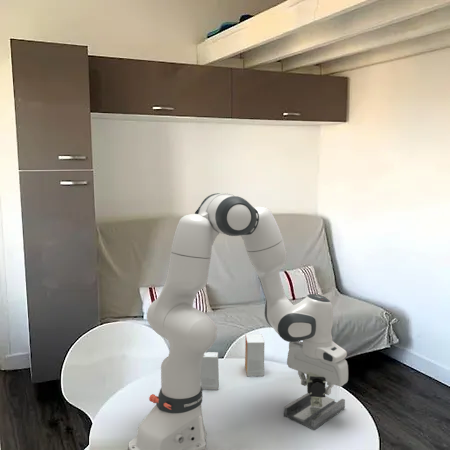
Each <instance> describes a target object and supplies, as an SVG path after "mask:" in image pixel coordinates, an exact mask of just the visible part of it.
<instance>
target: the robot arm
mask: <svg viewBox="0 0 450 450" xmlns="http://www.w3.org/2000/svg"><path fill="white" fill-rule="evenodd" d="M280 229H281V228H280V227H279V225H278V223H277V220H276V219H275V216H274V214H273V213H272V211H271V209H269V208H268V207H266V206H259V205H257V206H254V205H252V204H251V203H250V202H249V201H247V199H245V198H243V197H241V196H239V195H238V196H235V195H233V194H230V193H213V194H210V195H208V196H206V198H204V199H203V201H202V202H201V204H200V205H199V206H198V208H197V209H196V210H195V212H194V213H189V214H185V215H184V216H182V217H181V218H180V219H179V221H178V224H177V225H176V229H175V232H174V235H173V239H172V243H171V249H170V255H169V263H168V267H167V274H166V278H165V282H164V285H163V287H162V289H161V291H160V293H159V295H158V297H157V298H156V299H155V300H153V301H152V302H151V304H150V305H149V306H148V308H147V313H146V319H147V322H148V324H149V326H150V327H151V328H152V329H153V330H154V331H155V333H156V334H157V335H159V336H161V337H162V338H164V339H166V340H167V341H168V343H169V352H168V356H166V358H164V359H163V360H162V362H161V365H160V366H161V367H160V380H161V381H160V383H161V384H160V385H161V388H160V389H159V391H158V392H159V393H158V396H157V395H156V394H153V393H152V394H150V395H149V397H148V399H149V402H151V403H153V404H155V405H154V407H153V408H152V409H151V410H150V411H149V413H148V414H147V415H146V416H145V418H143V419H142V421H141V422H140V423H139V424H138V427H137V428H138V429H137V432H136V437H134V438H133V439H132V440H130V441H129V442H128V446H127V447H128V450H205V449H207V444H206V443H207V442H206V439H207V435H208V434H207V430H206V427H205V424H204V418H203V417H204V416H203V409H202V403H203V389H202V387H201V363H202V359H203V356H204V353H205V352H207V351H209V350H210V349H211V348H212V347H213V345H214V344H215V342H216V339H217V336H218V328H217V325H216V323H215V321H214V320H213V319H211V317H209V315H208V314H206V312H204V311H202V310H200V309H197V308H196V307H194V301H195V299H196V296H197V294H198V293H199V292H200V291H201V290H203V289H204V288H205V287H206V286H207V284H208V277H209V271H210V264H211V257H212V252H213V251H212V250H213V245H214V242H215V240H216V239H217V237H218V236H219V235H220V234H221V235H227V236H230V237H238V236H239V237H241V239H242V240H243V243H244V246H245V250H246V253H247V256H248V258H249V261H250V262H251V264H252V267H253V269H254V270H255V273H257V275H258V279H259V281H260V284H261V288H262V292H263V295H264V300H265V303H264V304H265V306H264V318H265V321H266V322H267V324H268V326H270V327H271V328H272V329H273V330H274V331H275V332H276V333H277V334H278V336H279V337H280V338H281V339H282V340H284V341H286V342H288V352H287V359H286V365H287V366H288V368H289V369H292V370H295V371H297V375H298V378H299V379H300V385H302V386H304V387H307V379H306V378H307V375H308V374H307V375H305V374H306V372H307V373H308V372H310V373H313V374H316V375H319V376H322V377H325V378H326V385H327V386H325V396H326V395H327V396H330V395H331V394H332V389H333V387H334V386H337V387H339V388H340V387H343V386H344V385H346V384H347V383H348V381H349V364H348V361H347V360H346V359H345V358H346V357H347V356H348V352H347V350H346V349H344V348H343V347H341V346H340V345H338V344H337V343H336V342H335V341H333V336H332V329H333V325H334V311H333V304H332V302H331V300H330V299H329V298H327V297H326V296H323V295H321V294H316V293H314V294H313V293H310V294H307V295H306V296H305V297H304V298H303V299H302V300H301V301H299V302H298V303H296V304H294V303H293V302H292V300H290V299H289V298H288V297H287V295H286V293H285V289H284V285H283V282H282V278H281V274H280V270H282V268H283V267H284V266H285V264H286V263H287V261H288V257H287V256H288V255H287V248H286V245H285V240H284V237H283V234H282V232H281V230H280Z"/></svg>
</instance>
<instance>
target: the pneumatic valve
mask: <svg viewBox="0 0 450 450" xmlns="http://www.w3.org/2000/svg"><path fill="white" fill-rule="evenodd" d="M307 374H308V375H307ZM305 376H306V379H307V385H306V391H307V392H306V394H307V393H309V396H310V397H311V406H312V407H313V406H320V407H322V397H325V396H326V394H325V388H326V385H327V382H326V378H325V377H322V376H319V375H316V374H313V373H310V372H308V373H307V372H306V375H305Z"/></svg>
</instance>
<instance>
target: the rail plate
mask: <svg viewBox="0 0 450 450" xmlns="http://www.w3.org/2000/svg"><path fill="white" fill-rule="evenodd" d="M345 407H346V399H344V398H341V399H340V400H338V401H337V402H336V401H335V399H334V398H331V397H329V396H326V395H325V397H322V407H320V406H313V407H312V406H311V397H310V396H309V393H307V392H306V393H305V394H303V395H301V396H300V397H299V398H297V399H295V400H293V401H292V402H290V403H288V404H287V405H285V406H284V407H283V417H285V418H287V419H289V420H291V421H293V422H296V423H298V424H300V425H302V426H304V427H307V428H309V429H311V430H313V431H316V430H317V429H318V428H320V427H321V426H322V425H324V424H325V423H326V422H328V421H329V420H330V419H333V418H334V417H335V416H336V415H338V414H339V413H341V412H342V411H343V410H344V408H345ZM341 410H342V411H341ZM340 411H341V412H340ZM337 413H338V414H337Z"/></svg>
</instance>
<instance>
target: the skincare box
mask: <svg viewBox="0 0 450 450" xmlns="http://www.w3.org/2000/svg"><path fill="white" fill-rule="evenodd" d="M219 370H220V369H219V352H218V351H217V352H215V351H213V352H211V351H208V352H207V351H206V352H205V353H204V356H203V359H202V363H201V387H202V391H203V390H207V391H209V390H212V391H213V390H215V391H216V390H219V387H220V379H219V377H220V376H219V374H220V373H219Z"/></svg>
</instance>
